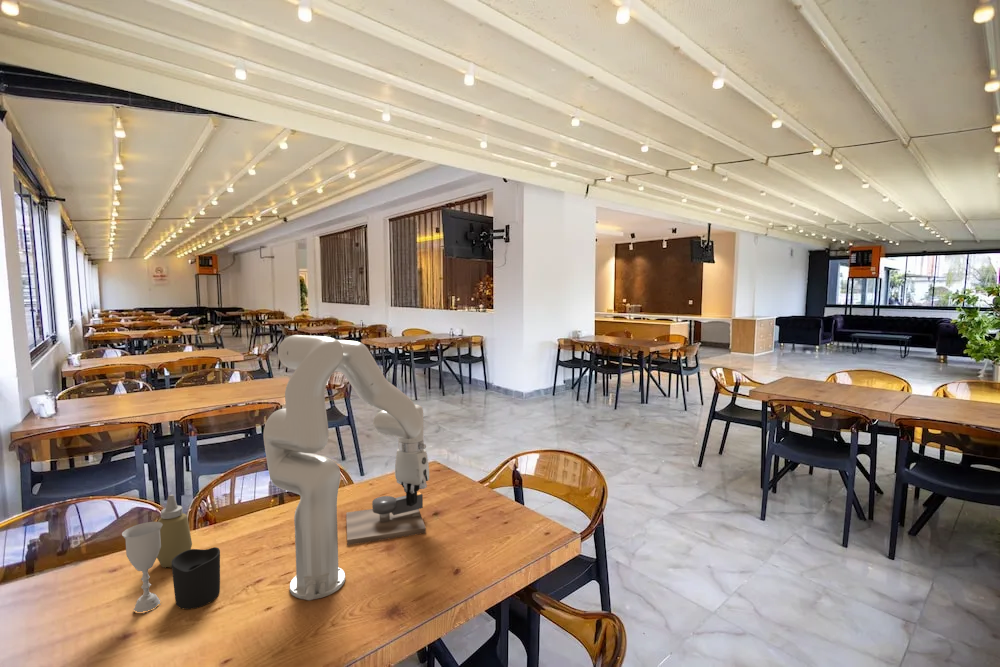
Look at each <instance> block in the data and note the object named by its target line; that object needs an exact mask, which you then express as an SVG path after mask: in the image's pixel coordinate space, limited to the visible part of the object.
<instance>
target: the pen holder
mask: <svg viewBox="0 0 1000 667" xmlns="http://www.w3.org/2000/svg"><path fill="white" fill-rule="evenodd" d="M171 564H172V567H171V572H172V581H173V594H174V601H175V605H176V606H177V607H178V608H179V607H180V608H179V609H182V608H184V609H183V610H192V609H191V608H194V609H197V607H198V608H200V607H203V605H204V606H206V605H208V604H210V603H212V602H213V601H214V600H215V599H216V598H217V597H218V596H219V594H220V592H221V550H220V548H219V547H211V548H210V547H209V548H206V549H199V548H191V549H190V550H187V551H184V552H182V553H180V554H179V555H177V556H176V557H175V558H174V559H173V560H172V562H171ZM212 600H213V601H212ZM209 602H210V603H209Z"/></svg>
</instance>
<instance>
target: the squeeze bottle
mask: <svg viewBox="0 0 1000 667" xmlns="http://www.w3.org/2000/svg"><path fill="white" fill-rule="evenodd" d="M165 505H166V506H165V508H162V509H161V510H160V518H159V519H158V520H157V521H156V522H161V523H162V524H163V525H162V527H161V529H160V538H161V548H160V551H159V554H158V556H157V558H156V559H157V561H158V563H159V565H160V566H161V567H162V568H164V567H165V569H166V567H170V568H172V564H171V562H172V560H173V559H174V558H175V557H176V556H177V555H179V554H180V553H182V552H184V551H187V550H190V549H192V546H193V541H192V536H191V531H190V526H189V518H188V514H186V513H184V511H183V509H184V508H183V506H182V505H178V503H177V500H176V498H175V495H174V494H169V495H168V496H167V501H166V504H165Z"/></svg>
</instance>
